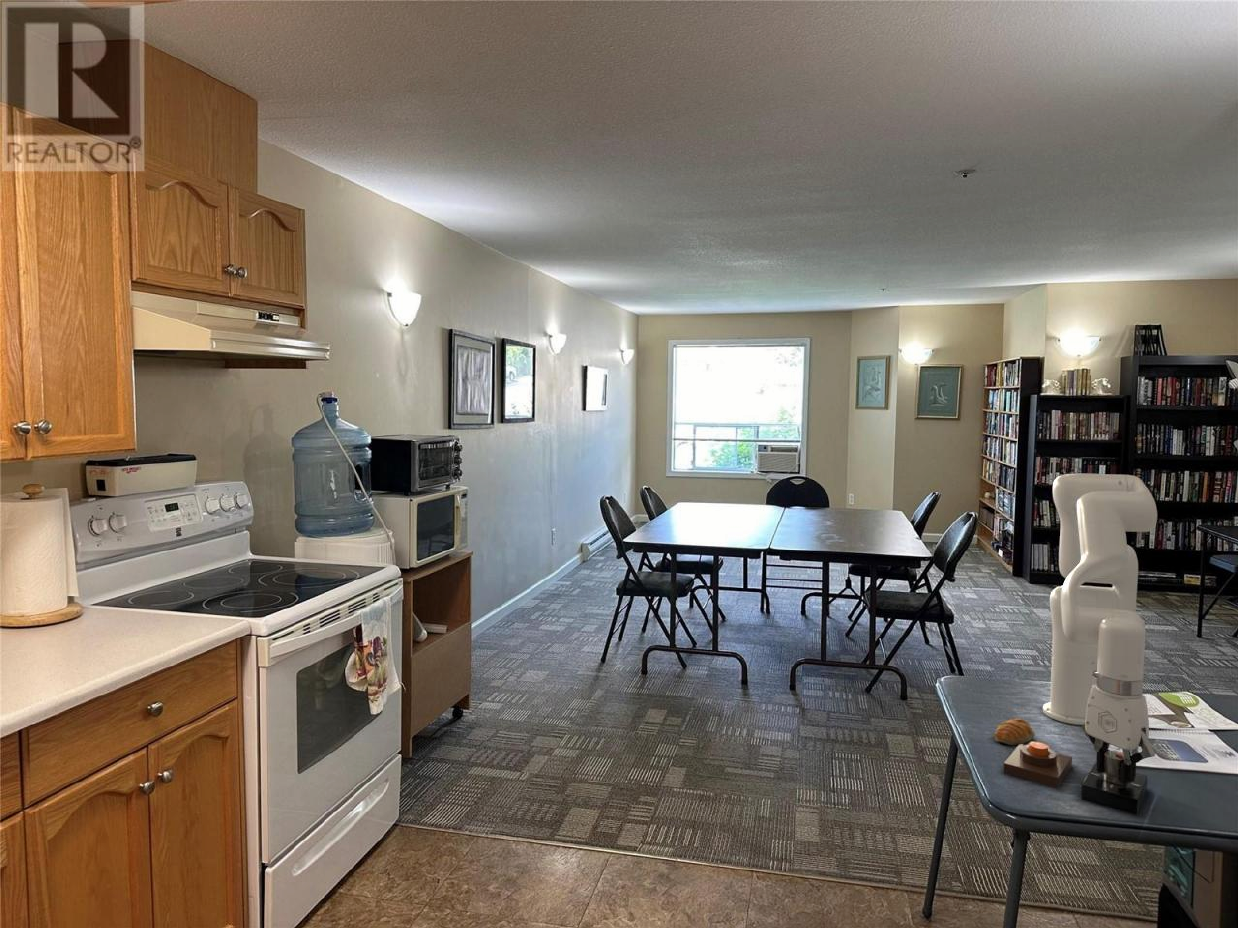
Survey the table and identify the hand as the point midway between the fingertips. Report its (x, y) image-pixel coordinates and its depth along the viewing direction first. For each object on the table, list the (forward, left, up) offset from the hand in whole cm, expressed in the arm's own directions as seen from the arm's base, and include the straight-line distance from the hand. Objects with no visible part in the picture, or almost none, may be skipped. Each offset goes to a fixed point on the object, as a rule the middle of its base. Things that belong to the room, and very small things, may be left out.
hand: (1115, 775), depth 157 cm
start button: (-2, -14, 0) cm, 14 cm away
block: (-2, -14, -4) cm, 15 cm away
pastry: (-15, -22, -4) cm, 27 cm away
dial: (0, 0, -1) cm, 1 cm away
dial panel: (0, 0, -4) cm, 4 cm away
